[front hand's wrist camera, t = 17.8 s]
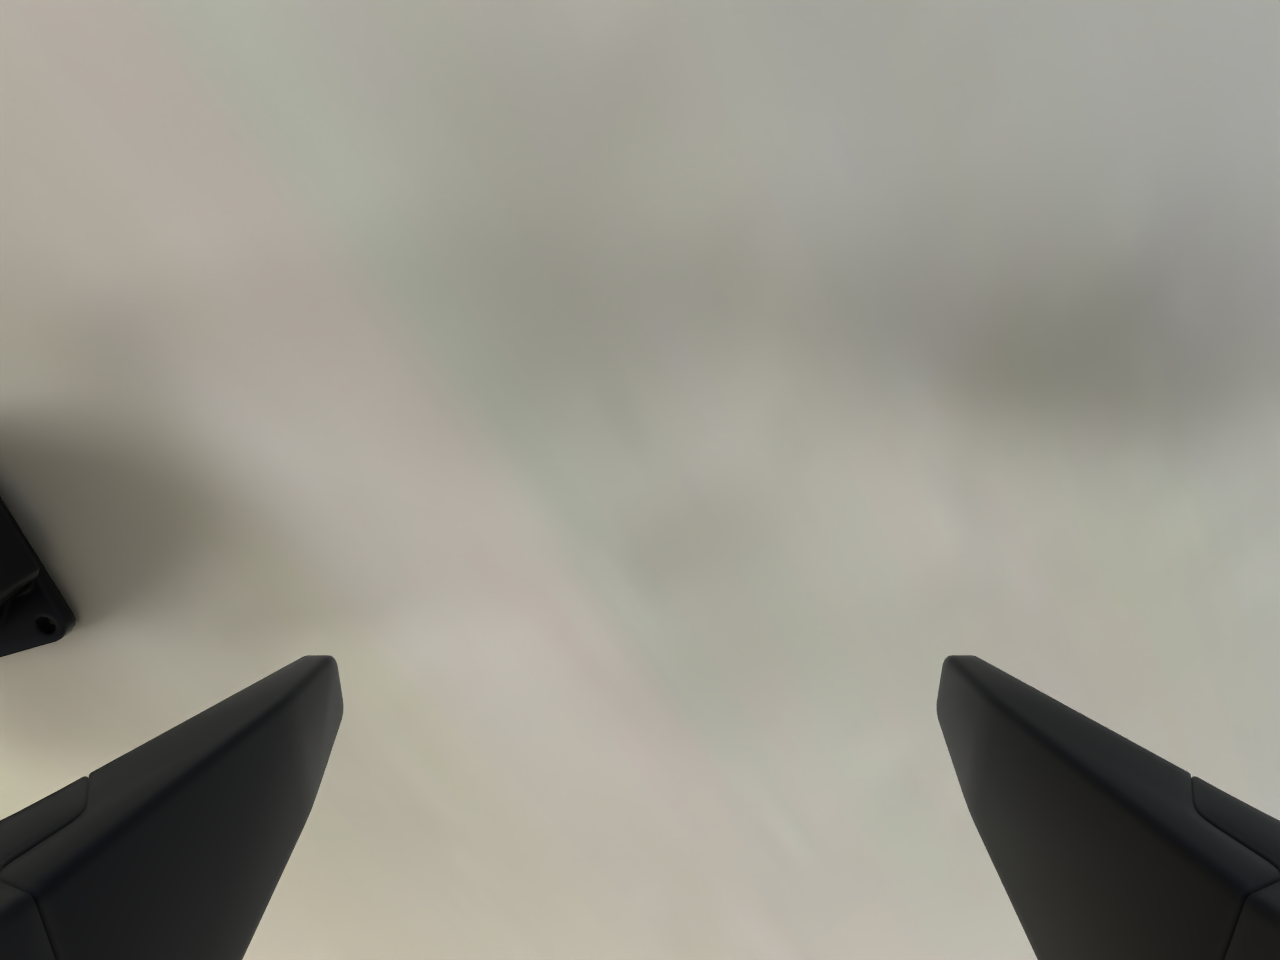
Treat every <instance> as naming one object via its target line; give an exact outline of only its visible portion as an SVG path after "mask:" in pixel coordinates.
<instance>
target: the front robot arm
mask: <svg viewBox="0 0 1280 960" xmlns="http://www.w3.org/2000/svg"><path fill="white" fill-rule="evenodd" d="M47 618H49V619H51V620H52V621H53V622H54V623H55V625H53V624H51V623H50V622H49V621H48V619H47ZM75 620H76V619H75V617H74V614H73V612H72V610H71V609H70V607H69V606H68V604H67V602H66V601H65V599H64V598H63V596H62V595H61V593H60V591H59V590H58V588H57V587H56V585H55V583H54V582H53V580H52V579H51V577H50V575H49V574H48V572H47V571H46V569H45V567H44V566H43V564H42V563H41V561H40V559H39V558H38V556H37V555H36V553H35V552H34V550H33V548H32V547H31V545H30V544H29V542H28V540H27V539H26V537H25V536H24V534H23V532H22V531H21V529H20V528H19V526H18V524H17V523H16V521H15V520H14V518H13V516H12V515H11V513H10V512H9V510H8V509H7V507H6V505H5V504H4V502H3V501H2V499H1V497H0V657H3V656H6V655H10V654H13V653H17V652H20V651H24V650H27V649H31V648H34V647H38V646H41V645H45V644H48V643H52V642H55V641H57V640H59V639H61V638H63V637H64V636H65V635H66V634H68V633H69V632H70V631H72V629H73V628H74V626H75ZM342 715H343V698H342V692H341V685H340V679H339V672H338V666H337V663H336V660H335V659H334V658H333V657H332V656H328V655H308V656H304V657H302V658H300V659H298V660H296V661H294V662H293V663H291V664H289V665H287V666H285V667H284V668H282V669H280V670H278V671H276V672H274V673H273V674H271V675H269V676H267V677H265V678H263V679H262V680H260V681H258V682H256V683H254V684H252V685H251V686H249V687H247V688H245V689H243V690H241V691H240V692H238V693H236V694H234V695H232V696H230V697H229V698H227V699H225V700H223V701H221V702H219V703H218V704H216V705H214V706H212V707H210V708H209V709H207V710H205V711H203V712H201V713H199V714H198V715H196V716H194V717H192V718H190V719H188V720H187V721H185V722H183V723H181V724H179V725H177V726H176V727H174V728H172V729H170V730H168V731H166V732H165V733H163V734H161V735H159V736H157V737H155V738H154V739H152V740H150V741H148V742H146V743H144V744H143V745H141V746H139V747H137V748H135V749H134V750H132V751H130V752H128V753H126V754H124V755H123V756H121V757H119V758H117V759H115V760H113V761H112V762H110V763H108V764H106V765H104V766H102V767H101V768H99V769H97V770H95V771H93V772H92V773H90V775H89V778H88V777H86V776H84V777H82V778H80V779H78V780H76V781H75V782H73V783H71V784H69V785H67V786H66V787H64V788H62V789H60V790H58V791H56V792H55V793H53V794H51V795H49V796H47V797H45V798H43V799H41V800H39V801H38V802H36V803H34V804H32V805H30V806H28V807H26V808H24V809H22V810H21V811H19V812H17V813H15V814H13V815H11V816H9V817H7V818H5V819H3V820H1V821H0V960H242V959H243V957H244V955H245V952H246V950H247V948H248V946H249V944H250V942H251V940H252V937H253V935H254V933H255V931H256V929H257V927H258V924H259V922H260V920H261V918H262V916H263V914H264V912H265V909H266V907H267V905H268V903H269V901H270V899H271V896H272V894H273V892H274V890H275V888H276V886H277V884H278V881H279V879H280V877H281V875H282V873H283V871H284V869H285V866H286V864H287V862H288V860H289V858H290V856H291V853H292V851H293V849H294V847H295V845H296V843H297V841H298V838H299V836H300V834H301V832H302V830H303V828H304V825H305V823H306V821H307V818H308V816H309V814H310V812H311V809H312V806H313V804H314V801H315V798H316V795H317V792H318V789H319V786H320V783H321V780H322V777H323V774H324V771H325V768H326V765H327V762H328V759H329V756H330V753H331V750H332V747H333V744H334V741H335V738H336V735H337V732H338V729H339V726H340V723H341V720H342ZM937 715H938V720H939V723H940V726H941V729H942V732H943V735H944V738H945V741H946V744H947V747H948V750H949V753H950V756H951V759H952V762H953V765H954V768H955V771H956V774H957V777H958V780H959V783H960V786H961V789H962V792H963V795H964V798H965V801H966V804H967V806H968V809H969V812H970V814H971V816H972V818H973V821H974V823H975V825H976V828H977V830H978V832H979V834H980V836H981V838H982V841H983V843H984V845H985V847H986V849H987V851H988V853H989V856H990V858H991V860H992V862H993V864H994V866H995V869H996V871H997V873H998V875H999V877H1000V879H1001V881H1002V884H1003V886H1004V888H1005V890H1006V892H1007V894H1008V896H1009V899H1010V901H1011V903H1012V905H1013V907H1014V909H1015V912H1016V914H1017V916H1018V918H1019V920H1020V922H1021V924H1022V927H1023V929H1024V931H1025V933H1026V935H1027V937H1028V940H1029V942H1030V944H1031V946H1032V948H1033V950H1034V952H1035V955H1036V957H1037V959H1038V960H1280V821H1279V820H1277V819H1275V818H1273V817H1271V816H1269V815H1267V814H1265V813H1263V812H1261V811H1259V810H1258V809H1256V808H1254V807H1252V806H1250V805H1248V804H1246V803H1244V802H1242V801H1241V800H1239V799H1237V798H1235V797H1233V796H1231V795H1229V794H1227V793H1225V792H1224V791H1222V790H1220V789H1218V788H1216V787H1214V786H1213V785H1211V784H1209V783H1207V782H1205V781H1204V780H1202V779H1200V778H1198V777H1196V776H1194V777H1192V778H1191V775H1190V773H1189V772H1187V771H1185V770H1183V769H1181V768H1179V767H1178V766H1176V765H1174V764H1172V763H1170V762H1169V761H1167V760H1165V759H1163V758H1161V757H1159V756H1158V755H1156V754H1154V753H1152V752H1150V751H1148V750H1147V749H1145V748H1143V747H1141V746H1139V745H1137V744H1136V743H1134V742H1132V741H1130V740H1128V739H1126V738H1125V737H1123V736H1121V735H1119V734H1117V733H1115V732H1114V731H1112V730H1110V729H1108V728H1106V727H1104V726H1103V725H1101V724H1099V723H1097V722H1095V721H1093V720H1092V719H1090V718H1088V717H1086V716H1084V715H1082V714H1081V713H1079V712H1077V711H1075V710H1073V709H1071V708H1070V707H1068V706H1066V705H1064V704H1062V703H1060V702H1059V701H1057V700H1055V699H1053V698H1051V697H1050V696H1048V695H1046V694H1044V693H1042V692H1040V691H1039V690H1037V689H1035V688H1033V687H1031V686H1029V685H1028V684H1026V683H1024V682H1022V681H1020V680H1018V679H1017V678H1015V677H1013V676H1011V675H1009V674H1007V673H1006V672H1004V671H1002V670H1000V669H998V668H996V667H995V666H993V665H991V664H989V663H987V662H986V661H984V660H982V659H980V658H978V657H976V656H972V655H952V656H948V657H947V658H946V659H945V660H944V663H943V666H942V672H941V679H940V685H939V692H938V698H937Z"/></svg>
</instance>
